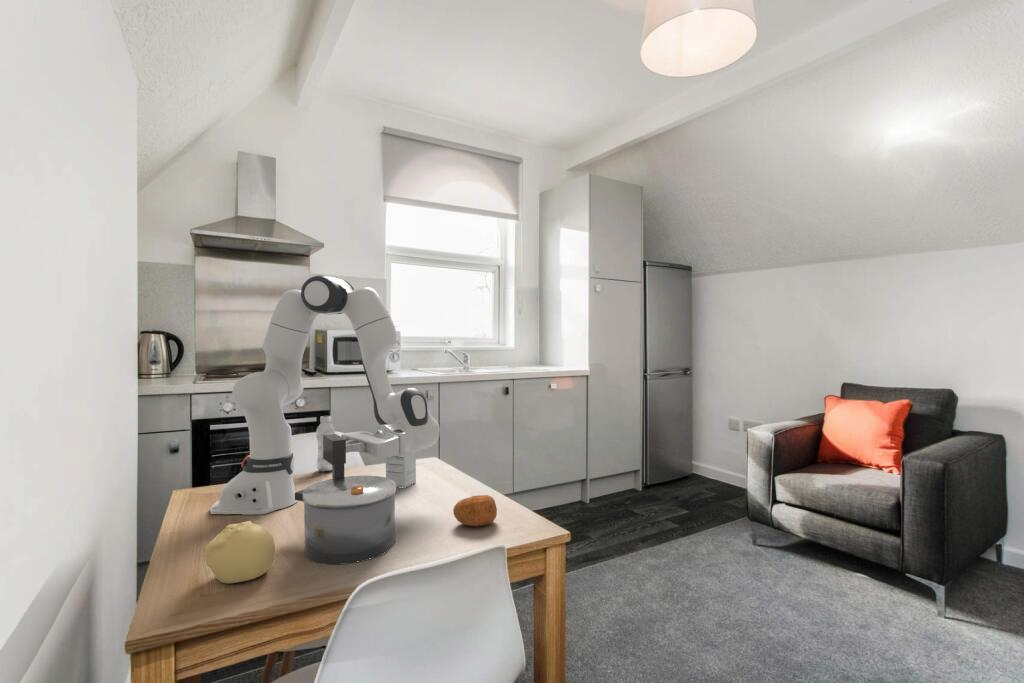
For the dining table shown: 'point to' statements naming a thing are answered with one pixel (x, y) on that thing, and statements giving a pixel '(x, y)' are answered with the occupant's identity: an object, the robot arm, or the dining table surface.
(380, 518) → the cooker pot
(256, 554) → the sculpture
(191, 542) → the dining table surface
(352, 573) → the dining table surface
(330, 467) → the plastic bottle
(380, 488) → the cooker lid
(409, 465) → the supplement box
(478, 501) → the potato
